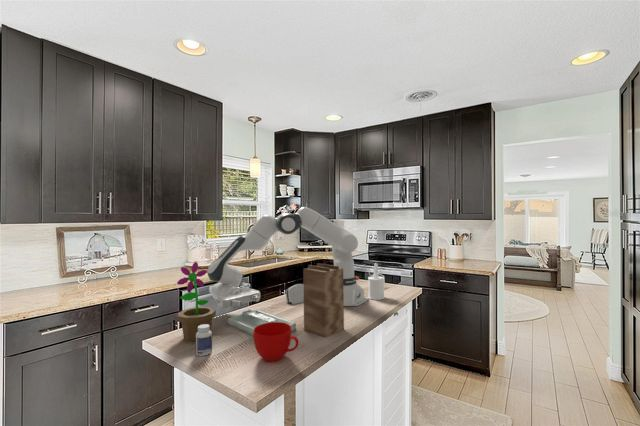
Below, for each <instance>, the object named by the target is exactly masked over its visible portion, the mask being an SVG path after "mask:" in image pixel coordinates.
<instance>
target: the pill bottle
mask: <svg viewBox="0 0 640 426" xmlns="http://www.w3.org/2000/svg"><path fill="white" fill-rule="evenodd" d="M212 352H213V333H212V330H211V331H210V326H209V325H208V324H203V325H200V326H198V332H197V333H196V342H195V353H196V355H197V356H198V355H199V356H198V357H204V356H205V355H206V356H209V355H210V354H212ZM208 354H209V355H208ZM206 356H205V357H206Z"/></svg>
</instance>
